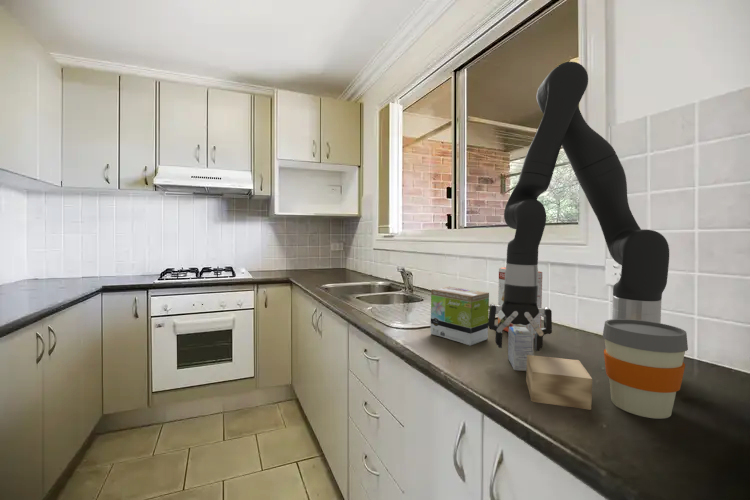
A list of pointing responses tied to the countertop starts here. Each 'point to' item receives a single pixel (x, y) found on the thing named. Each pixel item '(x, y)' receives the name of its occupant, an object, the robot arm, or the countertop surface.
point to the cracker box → (501, 301)
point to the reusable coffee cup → (644, 365)
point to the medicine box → (519, 347)
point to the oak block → (558, 382)
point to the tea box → (460, 314)
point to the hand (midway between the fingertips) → (518, 348)
